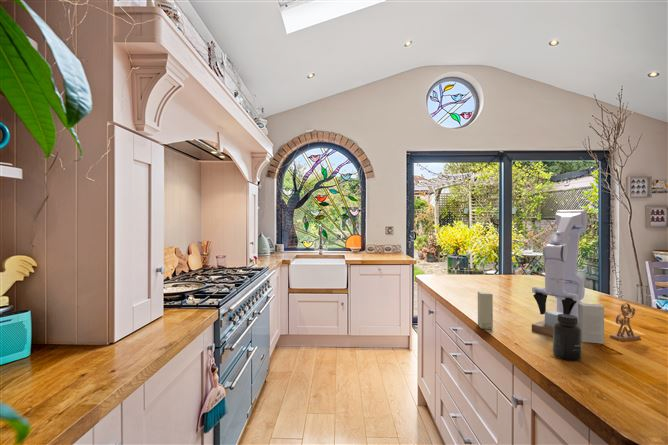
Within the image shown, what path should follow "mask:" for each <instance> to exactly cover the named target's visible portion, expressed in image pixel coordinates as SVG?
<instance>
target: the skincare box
mask: <svg viewBox="0 0 668 445" xmlns="http://www.w3.org/2000/svg"><path fill="white" fill-rule="evenodd" d="M577 326H578V327H579V328H580V329H581V331H582V340H581V343H591V344H601V345H604V344H605V307H604V306H602V305H601V304H597V303H584V302H582V303H578V324H577Z"/></svg>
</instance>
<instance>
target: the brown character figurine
mask: <svg viewBox="0 0 668 445" xmlns="http://www.w3.org/2000/svg"><path fill="white" fill-rule="evenodd" d="M626 305H627V306H626ZM620 311H621V313H619V314H617V316H616V317H615V323H616V324H617V325H620V326H619V329H618V331H617V333H613V334H609V338H610V339H611V340H612V339H613V340H615V341H619V342H629V341H638V340H641V335H638V334H635V333H634V331H633V329H632V327H631V325H630V319H633V317H634V316H635V315H636V309H635V307H631V305H630V303H628V302H623V303H622V304H621V306H620ZM630 314H631V315H630ZM629 315H630V316H629ZM621 316H622V317H623V318H620V317H621ZM628 329H629V330H628Z"/></svg>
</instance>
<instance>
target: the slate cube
mask: <svg viewBox="0 0 668 445" xmlns="http://www.w3.org/2000/svg"><path fill="white" fill-rule="evenodd" d="M558 314H563V313H560V312H557V311H556V310H548V311H546V312H545V314H544V320H545V325H547V326H551V327H554V325H555V324H556V323H558V321H557V319H558Z"/></svg>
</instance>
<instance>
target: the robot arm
mask: <svg viewBox="0 0 668 445" xmlns="http://www.w3.org/2000/svg"><path fill="white" fill-rule="evenodd" d="M588 219H589V217H588V212H587V210H586V209H557V211H556V212H555V215H554V221H555V223H556V226H557V230H556V231H554V232H553V233H552V235H551V237H550V239H549V242H548V244H545V245H544V246H543V249H542V257H543V264H544V265H543V266H544V267H545V268H544V269H545V270H544V287H538V286H533V287H531V293H532V294H533V293H534V294H533V298H534V300H535V301H536V303H537V307H538V309H539V313H540V315H541V316H542V315H545V312H547V309H546V308H547V298H548V296H552V297H555V299H556V312H560V313H563V314H568V315H573V316H576V317H577V318H578V303H583V302H582V301H581V300H583V299H584V298H585V281H584V280H583V279H582V278H581V277H580V276H579V275H577V270H578V269H577V268H578V260H579V259H578V258H579V246H580V239H581V235H582V234H584V233H586V232H587V229H588V222H589V221H588Z"/></svg>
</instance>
